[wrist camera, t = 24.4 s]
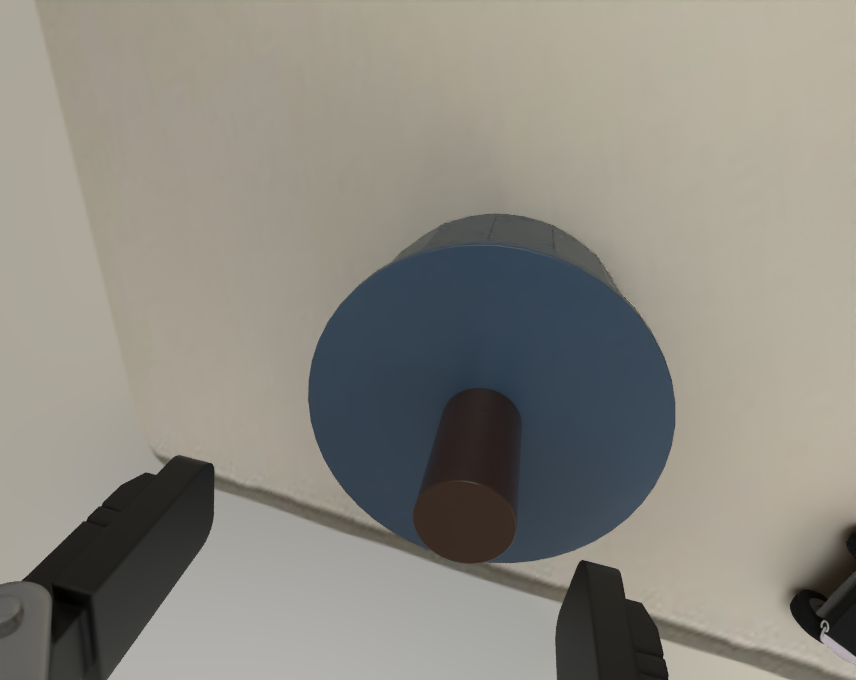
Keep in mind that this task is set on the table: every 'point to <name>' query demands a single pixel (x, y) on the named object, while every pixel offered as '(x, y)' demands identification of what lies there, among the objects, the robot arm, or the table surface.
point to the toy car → (831, 614)
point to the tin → (513, 238)
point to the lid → (492, 402)
